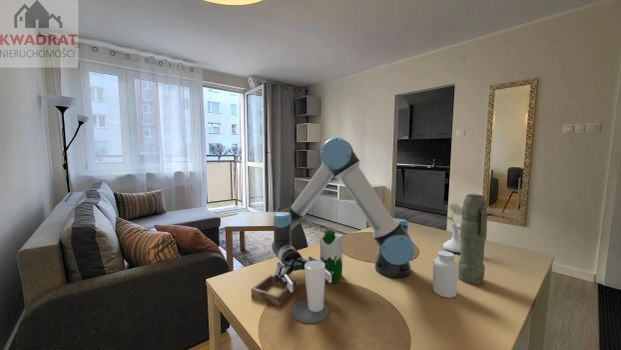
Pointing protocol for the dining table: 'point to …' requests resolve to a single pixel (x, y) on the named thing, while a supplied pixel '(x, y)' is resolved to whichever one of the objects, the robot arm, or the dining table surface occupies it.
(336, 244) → the milk carton
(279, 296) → the walnut collar
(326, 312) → the rubber coaster
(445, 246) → the flower in vase
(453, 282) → the pill bottle
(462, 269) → the thermos
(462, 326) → the dining table surface
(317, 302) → the drinking glass
